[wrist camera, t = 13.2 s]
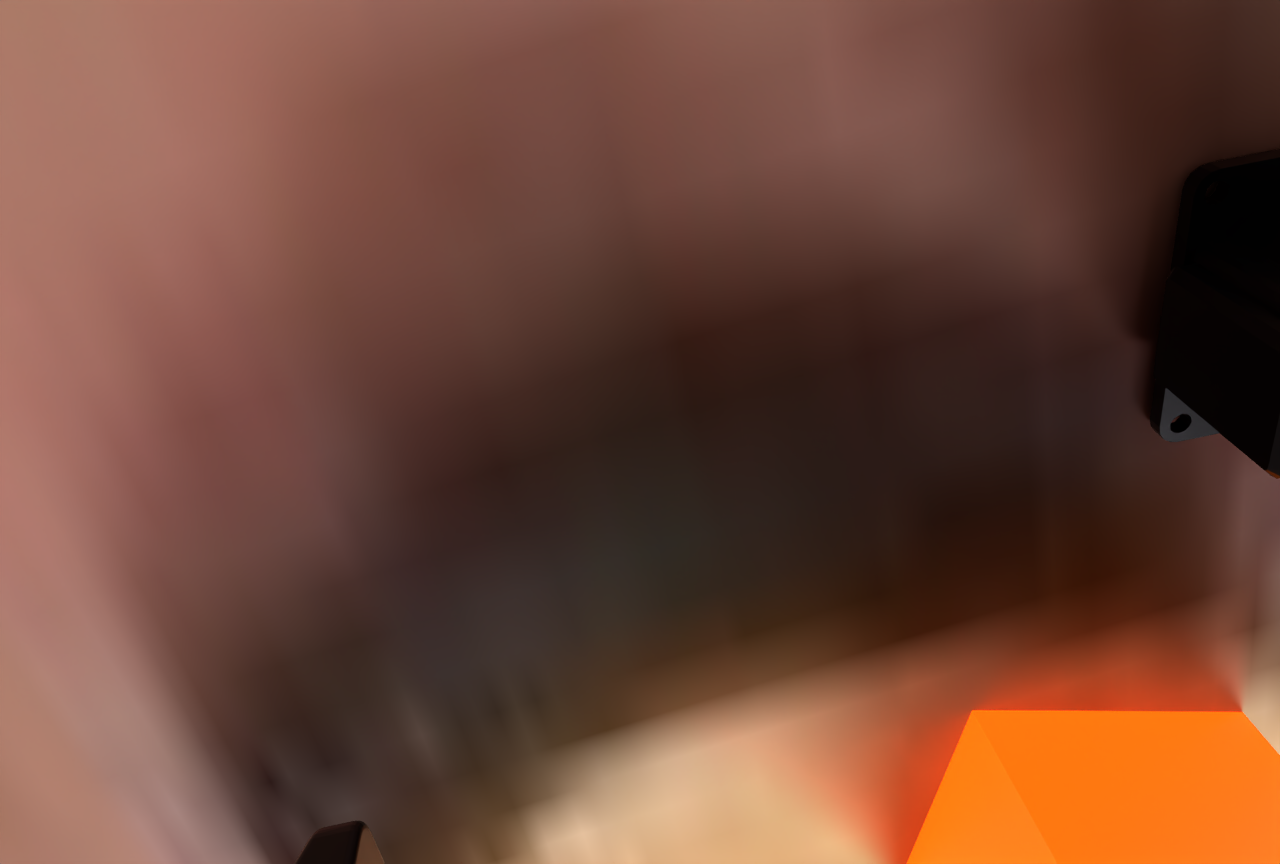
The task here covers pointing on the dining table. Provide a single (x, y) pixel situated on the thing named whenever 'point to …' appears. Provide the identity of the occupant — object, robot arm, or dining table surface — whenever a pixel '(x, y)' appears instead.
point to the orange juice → (1106, 791)
